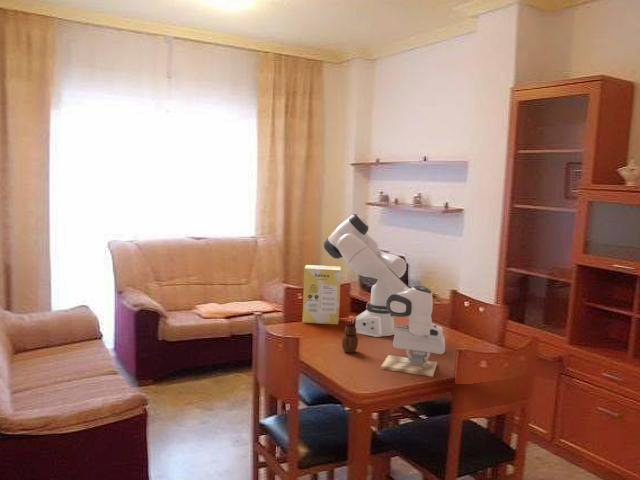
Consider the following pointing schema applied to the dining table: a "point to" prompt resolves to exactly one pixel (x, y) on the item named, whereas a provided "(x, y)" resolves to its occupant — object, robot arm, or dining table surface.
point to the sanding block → (417, 360)
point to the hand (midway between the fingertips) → (417, 361)
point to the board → (408, 366)
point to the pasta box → (321, 294)
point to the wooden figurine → (350, 338)
